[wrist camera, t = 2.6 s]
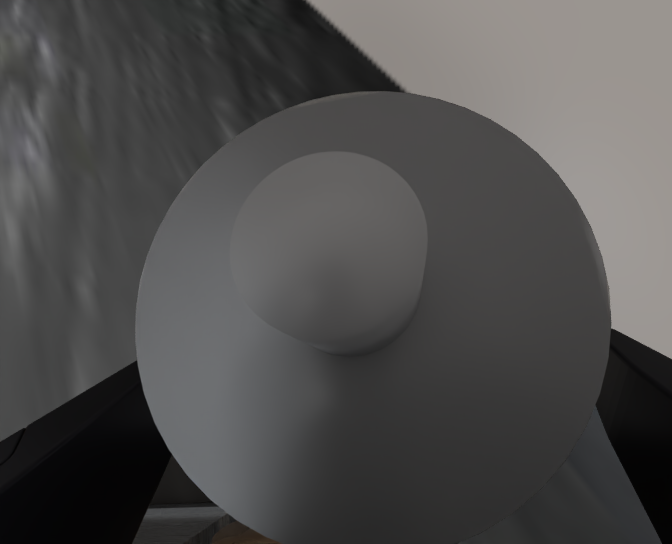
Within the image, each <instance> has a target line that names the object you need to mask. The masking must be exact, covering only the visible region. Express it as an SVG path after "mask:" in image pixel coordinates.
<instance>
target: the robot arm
mask: <svg viewBox="0 0 672 544" xmlns="http://www.w3.org/2000/svg"><path fill="white" fill-rule="evenodd" d="M595 405H596V407H597V410H598V413H599V415H600V418H601V421H602V423H603V426H604V428H605V431H606V433H607V436H608V438H609V440H610V442H611V444H612V446H613V448H614V450H615V452H616V454H617V456H618V458H619V460H620V462H621V464H622V466H623V468H624V470H625V472H626V474H627V476H628V478H629V479H630V481H631V483H632V485H633V487H634V489H635V491H636V493H637V495H638V497H639V499H640V501H641V503H642V505H643V507H644V509H645V511H646V513H647V515H648V517H649V519H650V521H651V522H652V524H653V526H654V528H655V530H656V532H657V534H658V536H659V538H660V540H661V542H662V544H672V359H670V358H668V357H666V356H664V355H663V354H661V353H659V352H657V351H655V350H653V349H651V348H649V347H647V346H645V345H643V344H641V343H640V342H638V341H636V340H634V339H632V338H630V337H628V336H626V335H624V334H622V333H620V332H618V331H616V330H614V329H611V334H610V346H609V358H608V362H607V366H606V370H605V375H604V379H603V383H602V387H601V391H600V394H599V397H598V399H597V402H596V404H595ZM171 455H172V453H171V452H170V451H169V449H168V447H167V445H166V443H165V441H164V440H163V438H162V436H161V434H160V432H159V430H158V428H157V426H156V424H155V422H154V420H153V417H152V414H151V411H150V409H149V406H148V403H147V400H146V398H145V395H144V391H143V386H142V382H141V377H140V373H139V368H138V362H137V361H135V362H133V363H132V364H130V365H128V366H127V367H125V368H123V369H122V370H120V371H118V372H117V373H115V374H113V375H112V376H110V377H108V378H106V379H105V380H103V381H101V382H100V383H98V384H96V385H95V386H93V387H91V388H90V389H88V390H86V391H85V392H83V393H81V394H80V395H78V396H76V397H75V398H73V399H71V400H70V401H68V402H66V403H65V404H63V405H61V406H60V407H58V408H56V409H55V410H53V411H51V412H50V413H48V414H46V415H44V416H43V417H41V418H39V419H38V420H36V421H34V422H33V423H31V424H29V425H28V426H27V427H26V428H23V429H21V430H19V431H18V432H16V433H14V434H13V435H11V436H9V437H8V438H6V439H4V440H2V441H1V442H0V544H132V543H133V541H134V539H135V537H136V534H137V532H138V530H139V527H140V525H141V523H142V521H143V518H144V516H145V514H146V512H147V509H148V507H149V505H150V503H151V500H152V498H153V496H154V494H155V491H156V489H157V487H158V485H159V482H160V480H161V478H162V476H163V473H164V471H165V469H166V467H167V464H168V462H169V460H170V458H171Z"/></svg>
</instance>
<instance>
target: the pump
mask: <svg viewBox="0 0 672 544" xmlns="http://www.w3.org/2000/svg"><path fill="white" fill-rule="evenodd" d="M610 334H611V311H610V296H609V286H608V282H607V277H606V273H605V268H604V264H603V259H602V256H601V253H600V250H599V247H598V244H597V242H596V239H595V237H594V234H593V231H592V229H591V226H590V224H589V222H588V221H587V219H586V217H585V215H584V213H583V211H582V209H581V208H580V206H579V204H578V202H577V200H576V199H575V197H574V196H573V194H572V193H571V192H570V190H569V189H568V187H567V186H566V185H565V183H564V182H563V181H562V179H561V178H560V177H559V175H558V174H557V173H556V172H555V171H554V170H553V169H552V168H551V167H550V166H549V165H548V163H547V162H546V161H545V160H544V159H543V158H542V157H541V156H540V155H539V154H538V153H537V152H536V151H534V150H533V149H532V148H531V147H530V146H528V145H527V144H526V143H524V142H523V141H522V140H521V139H520V138H518V137H517V136H516V135H515V134H513V133H511V132H510V131H508V130H507V129H505V128H503V127H502V126H500V125H499V124H497V123H495V122H494V121H492V120H491V119H488V118H486V117H484V116H482V115H480V114H478V113H475V112H473V111H471V110H469V109H467V108H465V107H461V106H458V105H455V104H452V103H449V102H446V101H443V100H440V99H436V98H431V97H426V96H421V95H417V94H411V93H400V92H389V91H372V92H354V93H346V94H338V95H332V96H328V97H324V98H319V99H315V100H311V101H307V102H305V103H302V104H299V105H296V106H293V107H290V108H288V109H285V110H283V111H280V112H278V113H276V114H274V115H272V116H270V117H268V118H266V119H264V120H262V121H260V122H258V123H257V124H255V125H253V126H252V127H250V128H248V129H247V130H245V131H243V132H242V133H240V134H239V135H238V136H236V137H235V138H234V139H232V140H231V141H230V142H228V143H227V144H226V145H224V146H223V147H222V148H220V149H219V150H218V151H217V152H216V153H215V154H214V155H213V156H212V157H211V158H210V159H209V160H208V161H207V162H205V163H204V164H203V165H202V166H201V167H200V168H199V170H198V171H197V172H196V173H195V174H194V175H193V177H192V178H191V179H190V180H189V181H188V182H187V184H186V185H185V186H184V187H183V189H182V190H181V192H180V193H179V195H178V196H177V198H176V199H175V200H174V202H173V203H172V205H171V206H170V208H169V210H168V212H167V213H166V215H165V217H164V219H163V221H162V223H161V225H160V226H159V228H158V230H157V232H156V235H155V237H154V240H153V242H152V245H151V247H150V250H149V252H148V255H147V258H146V262H145V266H144V269H143V273H142V277H141V280H140V286H139V293H138V299H137V306H136V326H135V340H136V351H137V362H138V368H139V373H140V377H141V382H142V386H143V391H144V395H145V398H146V400H147V403H148V406H149V409H150V411H151V414H152V417H153V420H154V422H155V424H156V426H157V428H158V430H159V432H160V434H161V436H162V438H163V440H164V441H165V443H166V445H167V447H168V449H169V451H170V452H171V453H172V455H173V456H174V458H175V459H176V460H177V462H178V463H179V465H180V466H181V467H182V469H183V470H184V472H185V473H186V474H187V476H188V477H189V478H190V479H191V480H192V481H193V482H194V483H195V484H196V485H197V486H198V487H199V488H200V489H201V490H202V492H203V493H204V494H205V495H206V496H207V497H208V498H209V499H210V500H211V501H213V502H214V503H215V504H217V505H218V506H219V507H220V508H222V509H223V510H224V511H225V512H227V513H228V514H229V515H231V516H232V517H233V518H234V519H236V520H237V521H239V522H241V523H242V524H244V525H246V526H248V527H249V528H251V529H253V530H255V531H256V532H258V533H260V534H262V535H263V536H265V537H267V538H270V539H272V540H275V541H277V542H280V543H283V544H456V543H458V542H461V541H463V540H466V539H468V538H470V537H473V536H475V535H477V534H480V533H482V532H483V531H485V530H487V529H488V528H490V527H491V526H493V525H495V524H496V523H498V522H499V521H501V520H503V519H504V518H506V517H508V516H509V515H511V514H512V513H514V512H515V511H516V510H517V509H518V508H520V507H521V506H522V505H523V504H524V503H525V502H527V501H528V500H529V499H530V498H531V497H532V496H533V495H535V494H536V493H537V492H538V491H539V490H540V489H542V488H543V487H544V485H545V484H546V483H547V482H548V481H549V479H550V478H551V477H552V476H553V475H554V473H555V472H556V471H557V470H558V469H559V468H560V466H561V465H562V464H563V463H564V462H565V460H566V459H567V458H568V456H569V454H570V453H571V451H572V450H573V448H574V446H575V445H576V443H577V441H578V440H579V438H580V436H581V435H582V433H583V431H584V430H585V428H586V426H587V424H588V421H589V419H590V416H591V414H592V412H593V409H594V407H595V404H596V402H597V399H598V397H599V394H600V391H601V387H602V383H603V379H604V375H605V370H606V366H607V362H608V358H609V346H610Z"/></svg>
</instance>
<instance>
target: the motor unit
mask: <svg viewBox="0 0 672 544" xmlns="http://www.w3.org/2000/svg"><path fill="white" fill-rule="evenodd" d="M132 544H283V543H280V542H277V541H275V540H272V539H270V538H267V537H265V536H263V535H262V534H260V533H258V532H256V531H255V530H253V529H251V528H249V527H248V526H246V525H244V524H242V523H241V522H239V521H237V520H236V519H234V518H233V517H232V516H231V515H229V514H228V513H227V512H225V511H224V510H223V509H222V508H220V507H219V506H218V505H217V504H215V503H197V504H166V505H149V507H148V509H147V512H146V514H145V516H144V518H143V521H142V523H141V525H140V527H139V530H138V532H137V534H136V537H135V539H134V541H133V543H132Z"/></svg>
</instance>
